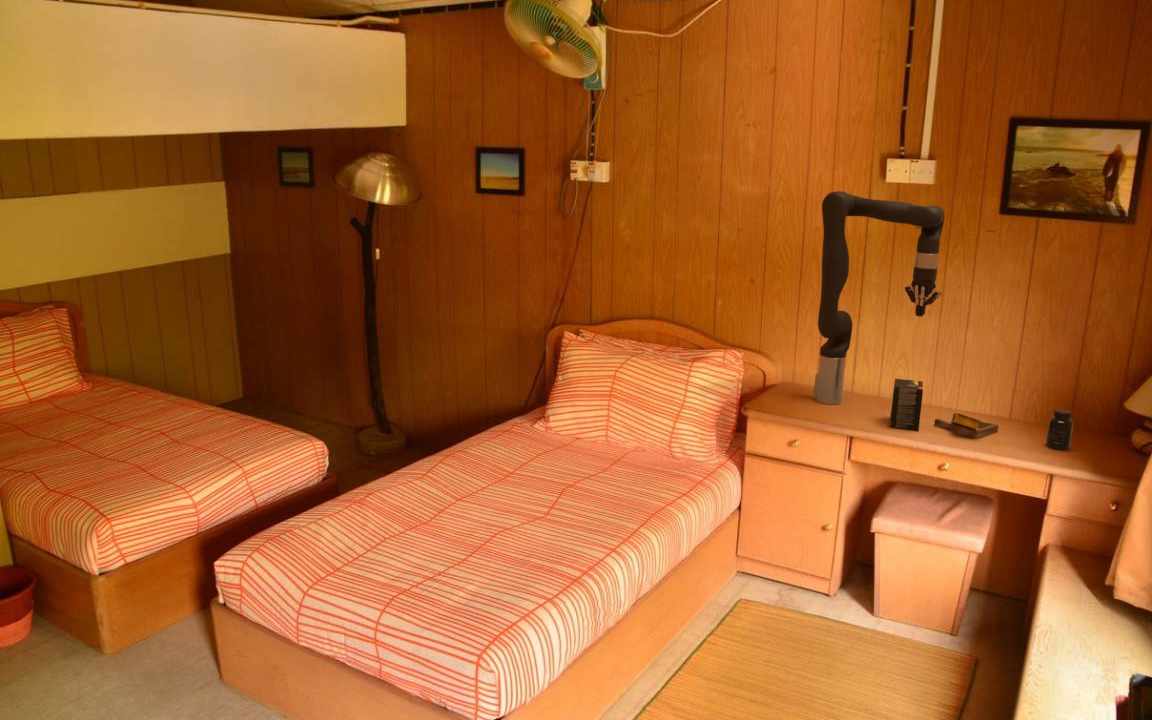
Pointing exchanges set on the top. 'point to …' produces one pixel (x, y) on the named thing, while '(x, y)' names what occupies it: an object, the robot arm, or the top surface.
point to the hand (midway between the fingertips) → (919, 316)
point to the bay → (984, 431)
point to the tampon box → (906, 404)
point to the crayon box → (965, 421)
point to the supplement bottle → (1060, 430)
